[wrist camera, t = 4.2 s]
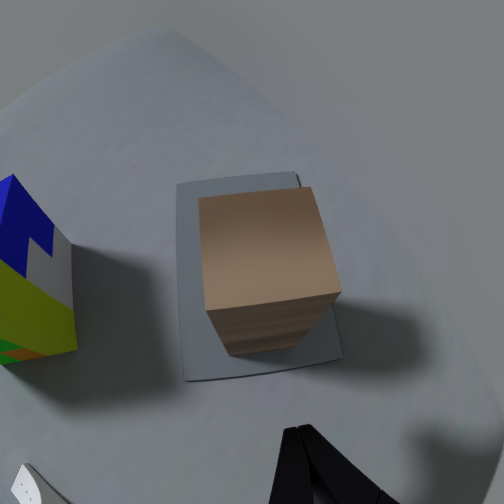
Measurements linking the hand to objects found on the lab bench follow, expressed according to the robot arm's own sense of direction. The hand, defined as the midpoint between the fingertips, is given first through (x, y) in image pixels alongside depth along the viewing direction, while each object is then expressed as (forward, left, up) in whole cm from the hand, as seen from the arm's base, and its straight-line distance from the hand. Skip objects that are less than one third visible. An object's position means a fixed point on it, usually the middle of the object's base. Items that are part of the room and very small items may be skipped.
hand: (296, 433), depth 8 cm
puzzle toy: (+13, +18, -11) cm, 25 cm away
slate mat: (+11, -2, -11) cm, 16 cm away
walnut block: (+6, -1, -10) cm, 12 cm away
